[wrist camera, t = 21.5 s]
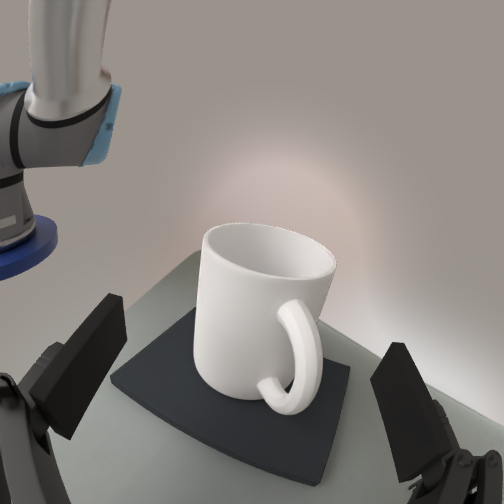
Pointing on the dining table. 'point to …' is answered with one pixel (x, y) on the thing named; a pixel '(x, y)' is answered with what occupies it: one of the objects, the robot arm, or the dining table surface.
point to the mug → (261, 313)
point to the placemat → (234, 408)
